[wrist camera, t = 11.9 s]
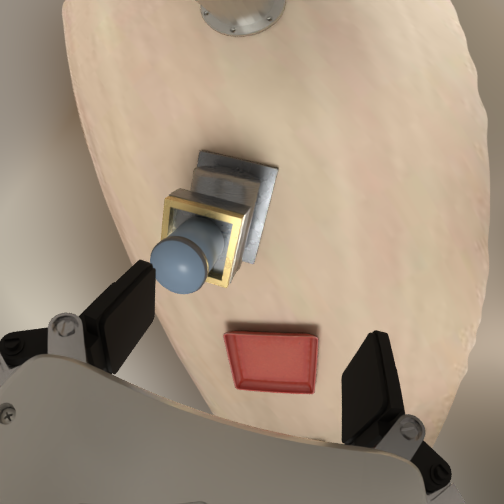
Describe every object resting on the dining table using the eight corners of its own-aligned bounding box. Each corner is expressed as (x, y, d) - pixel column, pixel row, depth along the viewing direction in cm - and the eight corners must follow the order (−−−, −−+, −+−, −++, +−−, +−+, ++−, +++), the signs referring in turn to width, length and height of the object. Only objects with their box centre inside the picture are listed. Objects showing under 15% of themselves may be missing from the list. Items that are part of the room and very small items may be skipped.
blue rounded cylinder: (179, 210, 33) (150, 233, 26) (229, 223, 32) (209, 250, 26) (174, 255, 35) (148, 284, 29) (220, 269, 35) (201, 302, 29)
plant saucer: (315, 384, 60) (314, 395, 57) (238, 379, 64) (235, 390, 61) (319, 325, 52) (319, 336, 49) (226, 322, 56) (222, 332, 53)
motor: (202, 150, 42) (156, 165, 29) (278, 168, 41) (263, 191, 28) (188, 241, 49) (148, 284, 37) (254, 261, 48) (233, 313, 36)
